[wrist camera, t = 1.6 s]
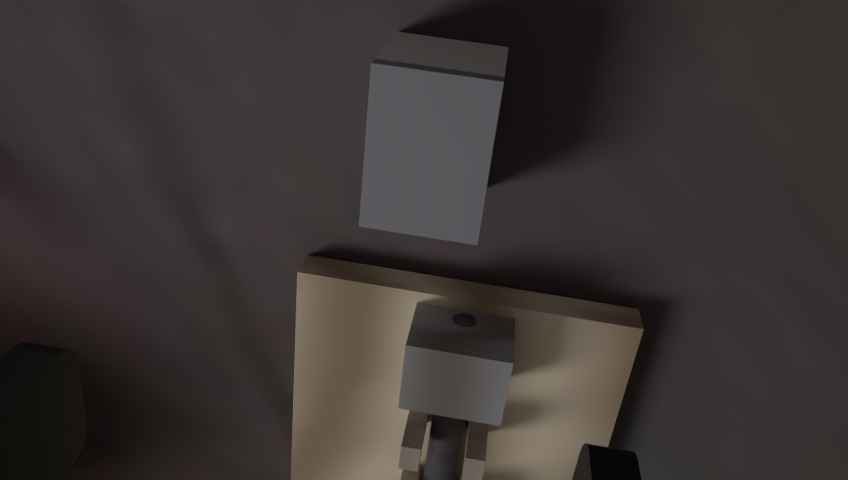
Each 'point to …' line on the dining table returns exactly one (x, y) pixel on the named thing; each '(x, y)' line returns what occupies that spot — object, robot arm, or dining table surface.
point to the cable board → (373, 365)
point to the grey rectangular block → (431, 136)
